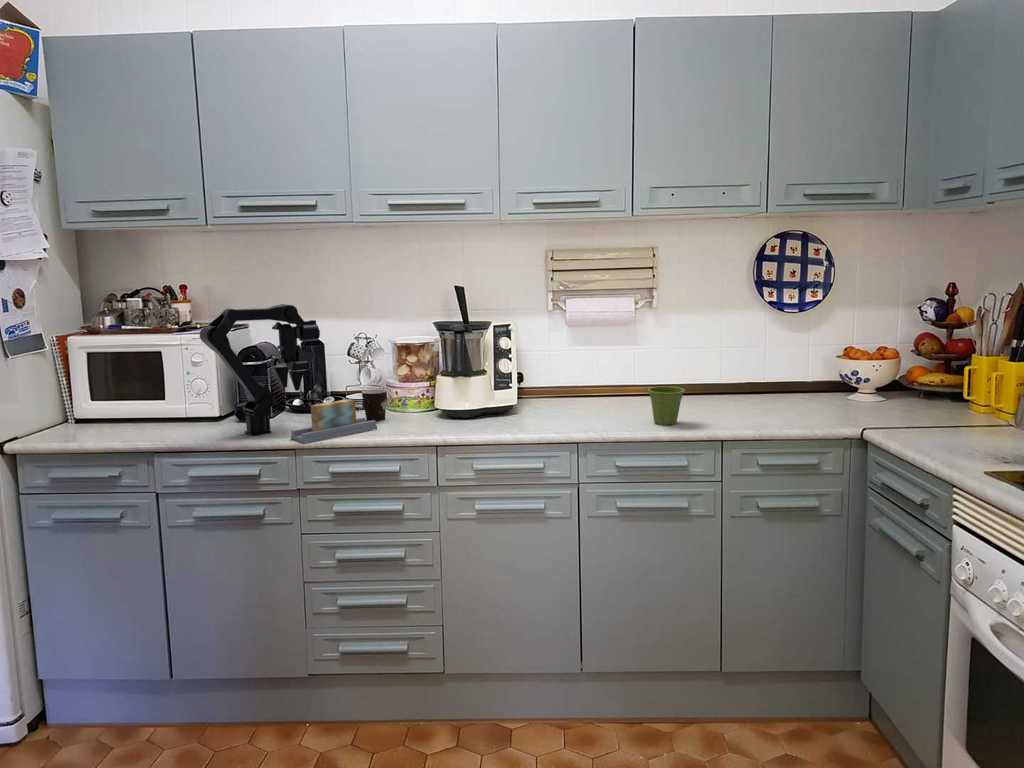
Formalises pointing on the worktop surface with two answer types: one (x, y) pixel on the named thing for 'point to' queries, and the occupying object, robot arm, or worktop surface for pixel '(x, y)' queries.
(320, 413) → the tan rectangular block
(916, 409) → the worktop surface
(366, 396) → the coffee mug
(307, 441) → the rail
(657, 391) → the plant pot
